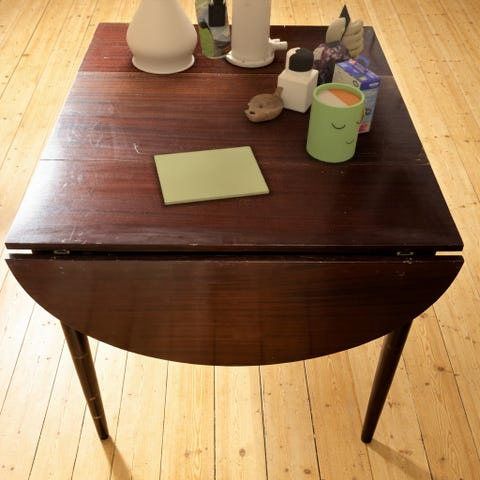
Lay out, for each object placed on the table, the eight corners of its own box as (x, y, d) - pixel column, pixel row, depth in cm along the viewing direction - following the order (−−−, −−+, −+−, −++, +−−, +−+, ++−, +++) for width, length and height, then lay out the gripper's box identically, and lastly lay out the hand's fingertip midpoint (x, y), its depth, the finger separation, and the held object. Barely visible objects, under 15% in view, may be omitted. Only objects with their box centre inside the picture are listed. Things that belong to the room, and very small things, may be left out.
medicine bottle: (315, 99, 143) (321, 48, 134) (304, 113, 138) (310, 61, 129) (286, 92, 145) (291, 41, 136) (275, 106, 140) (279, 54, 131)
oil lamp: (259, 131, 132) (260, 110, 129) (234, 118, 136) (234, 97, 132) (297, 110, 139) (299, 89, 135) (272, 98, 142) (274, 78, 139)
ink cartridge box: (371, 131, 134) (384, 66, 123) (350, 137, 132) (362, 71, 121) (345, 111, 140) (356, 47, 129) (325, 116, 138) (334, 52, 127)
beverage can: (227, 64, 121) (229, 1, 112) (192, 59, 122) (190, -4, 113) (234, 50, 125) (236, -12, 116) (200, 45, 126) (199, -17, 117)
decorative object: (350, 60, 162) (355, 78, 155) (314, 49, 160) (318, 66, 153) (372, 12, 153) (379, 29, 146) (334, -1, 151) (339, 15, 144)
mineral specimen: (306, 61, 152) (327, 25, 145) (341, 83, 153) (364, 48, 146) (298, 77, 145) (319, 40, 138) (335, 100, 147) (358, 65, 140)
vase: (198, 45, 161) (195, -63, 142) (197, 76, 149) (194, -37, 131) (131, 44, 160) (120, -64, 142) (125, 75, 148) (112, -39, 130)
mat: (249, 148, 128) (249, 146, 127) (268, 193, 117) (269, 190, 117) (154, 158, 124) (153, 155, 124) (165, 205, 114) (165, 202, 113)
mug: (325, 168, 123) (333, 113, 115) (297, 143, 130) (303, 89, 121) (374, 153, 128) (386, 99, 119) (345, 129, 134) (354, 76, 125)
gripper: (245, -76, 101) (241, 36, 114) (225, -102, 112) (224, 2, 125) (200, -75, 99) (201, 38, 112) (184, -101, 111) (187, 3, 124)
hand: (213, 18), depth 119 cm, fingers closed on beverage can, 6 cm apart
